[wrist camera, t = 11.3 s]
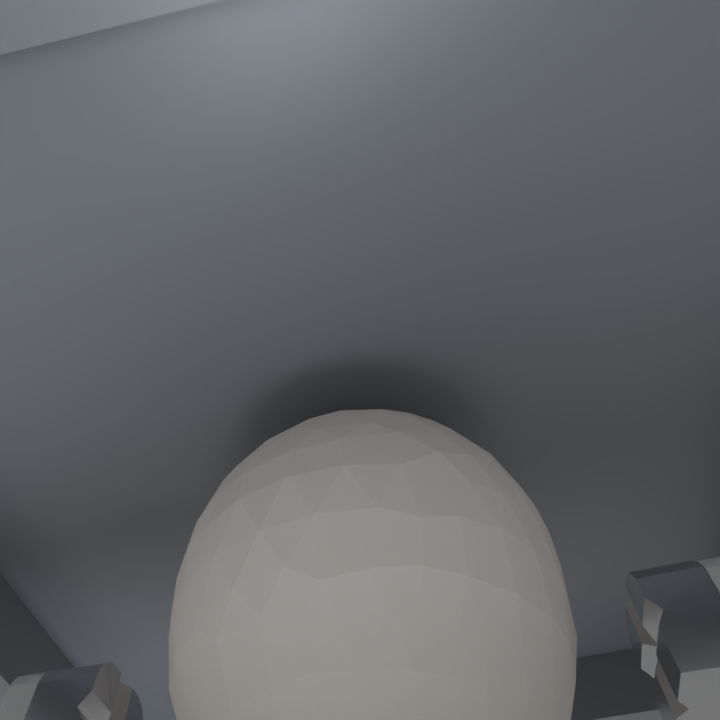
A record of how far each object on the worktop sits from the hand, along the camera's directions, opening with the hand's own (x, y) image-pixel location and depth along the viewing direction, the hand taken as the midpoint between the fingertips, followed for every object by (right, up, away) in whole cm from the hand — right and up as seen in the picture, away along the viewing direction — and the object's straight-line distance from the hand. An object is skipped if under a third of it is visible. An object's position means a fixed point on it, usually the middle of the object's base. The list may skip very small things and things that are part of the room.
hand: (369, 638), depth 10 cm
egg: (0, +2, +4) cm, 4 cm away
